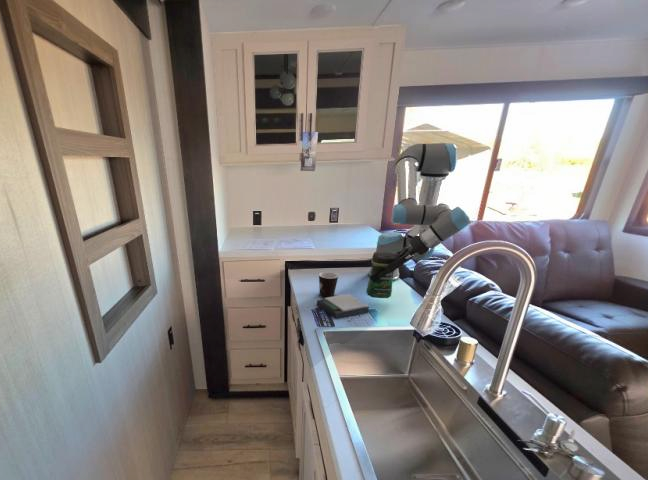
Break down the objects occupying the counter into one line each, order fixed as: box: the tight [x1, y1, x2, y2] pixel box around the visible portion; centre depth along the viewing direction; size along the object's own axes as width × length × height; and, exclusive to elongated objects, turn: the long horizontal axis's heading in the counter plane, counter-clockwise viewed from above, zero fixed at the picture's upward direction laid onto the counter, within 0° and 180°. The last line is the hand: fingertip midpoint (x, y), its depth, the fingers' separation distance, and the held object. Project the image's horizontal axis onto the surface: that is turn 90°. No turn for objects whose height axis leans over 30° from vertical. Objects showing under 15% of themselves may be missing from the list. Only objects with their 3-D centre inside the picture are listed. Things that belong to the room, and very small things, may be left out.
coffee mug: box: [318, 271, 339, 299], centre depth 146 cm, size 12×9×10 cm
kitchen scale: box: [316, 293, 370, 320], centre depth 133 cm, size 16×14×3 cm
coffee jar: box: [365, 251, 398, 299], centre depth 128 cm, size 10×8×19 cm
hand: (373, 276), depth 130 cm, fingers closed on coffee jar, 8 cm apart
